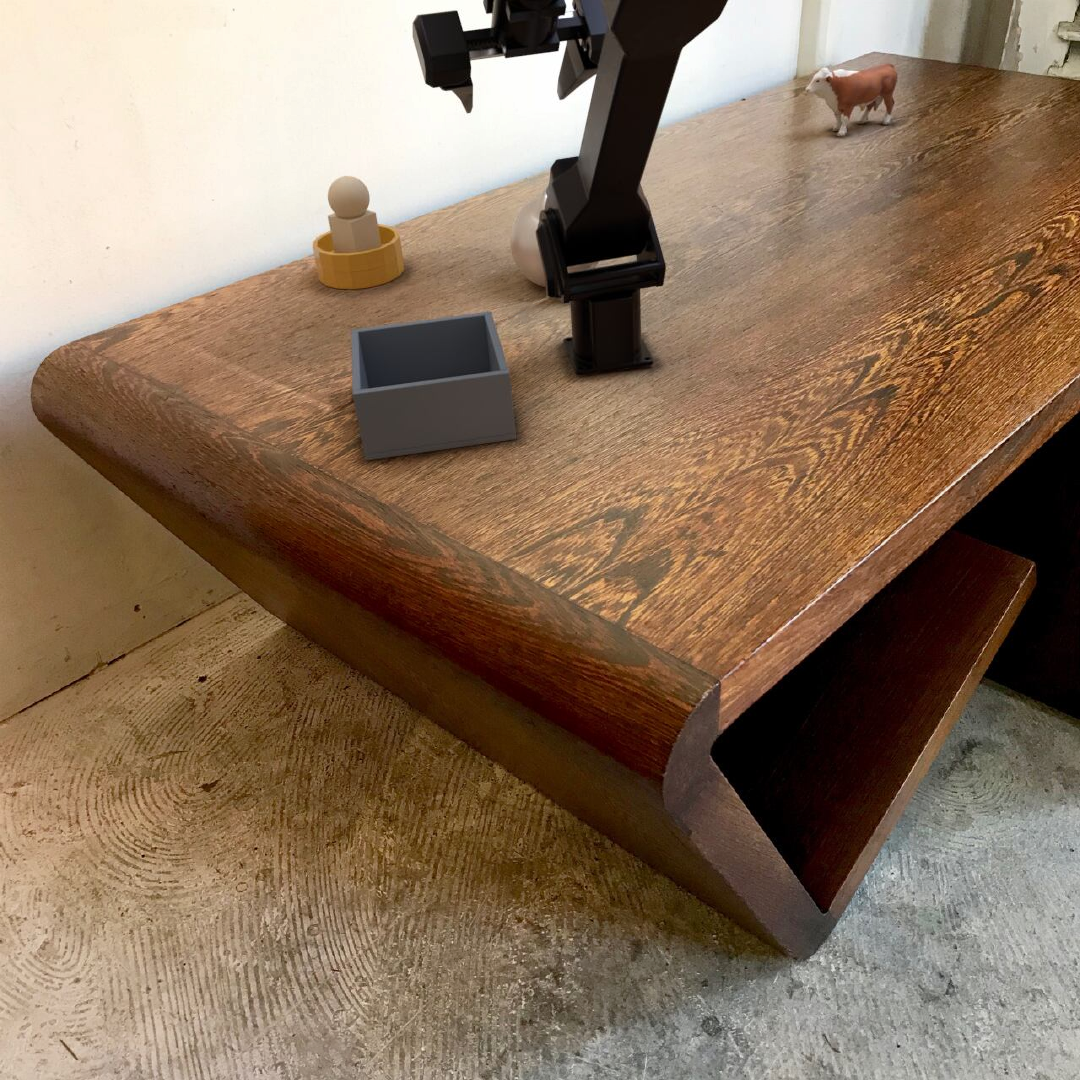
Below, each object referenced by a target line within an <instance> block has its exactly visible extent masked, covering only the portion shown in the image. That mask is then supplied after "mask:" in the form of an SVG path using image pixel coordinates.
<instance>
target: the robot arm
mask: <svg viewBox="0 0 1080 1080" xmlns="http://www.w3.org/2000/svg"><path fill="white" fill-rule="evenodd" d="M728 2H729V0H572V3H571V6H572V9H573V10H570V11H567V3H566V0H482V4H483V7H484V11H485V14H486V15H490V14H491V23H490V27H485V28H476V29H469V30H464V28H463V25H462V22H461V18H460V14H459V12H458V10H457V9H455V10H454V9H453V10H446V11H439V12H437V11H436V12H430V13H421V14H417V15H416V16H415V18H414V20H413V21H412V39H413V44H414V47H415V51H416V53H417V54H416V55H417V58H418V62H419V65H420V69H421V73H422V77H423V80H424V84H425V85H426V86H429V87H430V88H432V89H437V88H439V89H440V90H442V91H443V92H452V93H453V94H455V96H456V97H457V98H458V99H459V100H460V102H461V104H462V107H463V108H464V110H465V113H466V114H471V113H472V111H473V108H474V82H473V80H472V62H471V61H477V60H478V61H479V60H485V59H493V58H499V57H500V58H501V57H504V59H512V58H518V57H527V56H533V55H540V54H548V53H555V52H559V50H560V45H561V43H562V42H566V44H565V49H564V53H563V57H562V61H561V65H560V69H559V72H558V73H559V74H558V78H557V86H556V87H557V88H556V93H557V97H558V99H559V101H563V100H565V99H566V98H568V97H569V96H570V95H571V94H572V93H574V91H576V90H577V89H578V88H579V87H580V86H582V85H583V84H584V83H586V82H587V81H588V80H590V79H592V78H593V77H594V76H595V79H594V83H593V88H592V93H591V98H590V102H589V107H588V111H587V116H586V121H585V125H584V130H583V135H582V140H581V144H580V148H579V153H578V155H576V156H575V155H574V156H570V157H563V158H562V157H561V158H557V159H556V160H554V162H553V163H552V165H551V167H550V170H549V181H548V185H547V187H548V188H547V187H546V188H547V189H546V188H545V189H546V195H547V198H546V202H545V210H541V211H540V215H539V223H538V228H537V230H536V238H537V243H538V247H539V252H540V256H541V261H542V265H543V270H544V276H545V286H546V288H545V295H546V296H547V297H548V298H552V299H556V300H557V299H559V301H560V302H561V303H562V305H564V304H570V321H571V336H570V337H565V338H563V339H562V342H563V347H564V349H565V352H566V354H567V357H568V359H569V361H570V364H571V367H572V369H573V371H574V373H575V375H577V376H586V375H593V374H600V373H609V372H616V371H623V370H630V369H637V368H644V367H645V368H646V367H650V366H652V365H654V357H653V355H652V353H651V352H650V350H649V348H648V346H647V345H646V343H645V341H644V340H643V338H642V310H641V309H642V305H641V299H642V298H641V290H642V289H643V290H644V289H648V288H653V287H654V288H655V287H656V288H659V287H663V286H664V285H665V277H666V270H667V265H666V261H665V257H664V254H663V250H662V246H661V243H660V240H659V236H658V231H657V229H656V224H655V221H654V219H653V214H652V210H651V207H650V204H649V202H648V199H647V197H646V195H645V193H644V190H643V187H642V184H641V183H642V179H643V176H644V173H645V170H646V167H647V162H648V160H649V158H650V157H649V156H650V153H651V150H652V148H653V144H654V141H655V137H656V134H657V132H658V128H659V125H660V121H661V119H662V115H663V112H664V108H665V105H666V103H667V99H668V96H669V92H670V89H671V86H672V83H673V80H674V76H675V73H676V70H677V68H678V63H679V61H680V57H681V54H682V51H683V49H684V48H685V47H686V46H687V45H689V43H691V42H692V41H693V40H694V39H696V38H697V37H698V36H699V35H700V34H702V33H703V32H704V31H705V30H706V29H708V28H709V27H710V26H712V25H713V24H714V23H715V22H716V21H717V20H719V19H720V18H721V15H722V14H723V12H724V10H725V8H726V6H727V4H728ZM633 256H635V257H636V260H634V261H627V262H621V263H616V264H610V265H605V266H598V267H594V268H592V269H587V270H581V271H575V272H569V273H568V271H567V267H570V266H576V265H582V264H587V263H593V262H598V263H599V262H605V261H609V260H611V261H612V260H615V259H621V258H629V257H633Z"/></svg>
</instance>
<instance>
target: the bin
mask: <svg viewBox="0 0 1080 1080" xmlns="http://www.w3.org/2000/svg"><path fill="white" fill-rule="evenodd" d="M350 349H351V350H350V351H351V352H350V353H351V380H352V381H351V385H352V387H351V388H352V390H351V391H352V398H353V404H354V409H355V414H356V419H357V424H358V430H359V435H360V439H361V444H362V450H363V454H364V459H365V461H372V460H380V459H386V458H387V459H388V458H394V457H400V456H407V455H414V454H421V453H429V452H436V451H442V450H443V451H444V450H449V449H450V450H451V449H456V448H464V447H470V446H471V447H472V446H478V445H484V444H485V445H486V444H490V443H491V444H492V443H498V442H504V441H505V442H506V441H513V440H517V435H516V434H517V433H516V423H515V414H514V413H515V412H514V403H513V391H512V384H511V382H512V381H511V374H510V370H509V365H508V362H507V359H506V357H505V353H504V350H503V346H502V343H501V340H500V336H499V334H498V331H497V327H496V324H495V320H494V317H493V314H492V311H483V312H476V313H468V314H467V313H466V314H461V315H453V316H446V317H445V316H444V317H438V318H430V319H421V320H415V321H408V322H400V323H393V324H391V323H390V324H386V325H385V324H384V325H379V326H369V327H362V328H355V329H350Z"/></svg>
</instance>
